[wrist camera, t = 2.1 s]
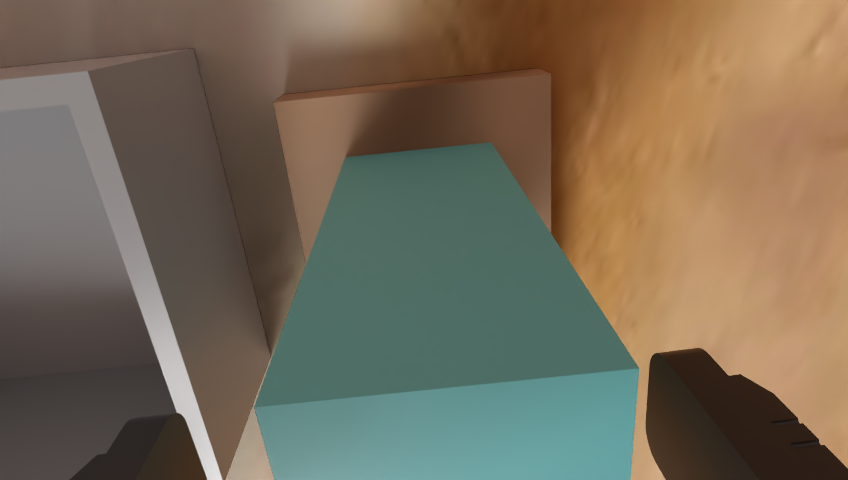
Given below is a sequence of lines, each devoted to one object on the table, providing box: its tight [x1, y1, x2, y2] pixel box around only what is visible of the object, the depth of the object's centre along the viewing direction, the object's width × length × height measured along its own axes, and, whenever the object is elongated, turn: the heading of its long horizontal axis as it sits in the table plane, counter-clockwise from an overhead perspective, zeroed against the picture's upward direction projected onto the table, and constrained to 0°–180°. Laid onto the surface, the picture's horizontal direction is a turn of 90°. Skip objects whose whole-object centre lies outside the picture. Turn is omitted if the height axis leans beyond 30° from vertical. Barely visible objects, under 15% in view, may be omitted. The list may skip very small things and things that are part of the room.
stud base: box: [273, 68, 551, 264], centre depth 18 cm, size 8×8×2 cm
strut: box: [254, 142, 639, 480], centre depth 12 cm, size 4×4×11 cm
